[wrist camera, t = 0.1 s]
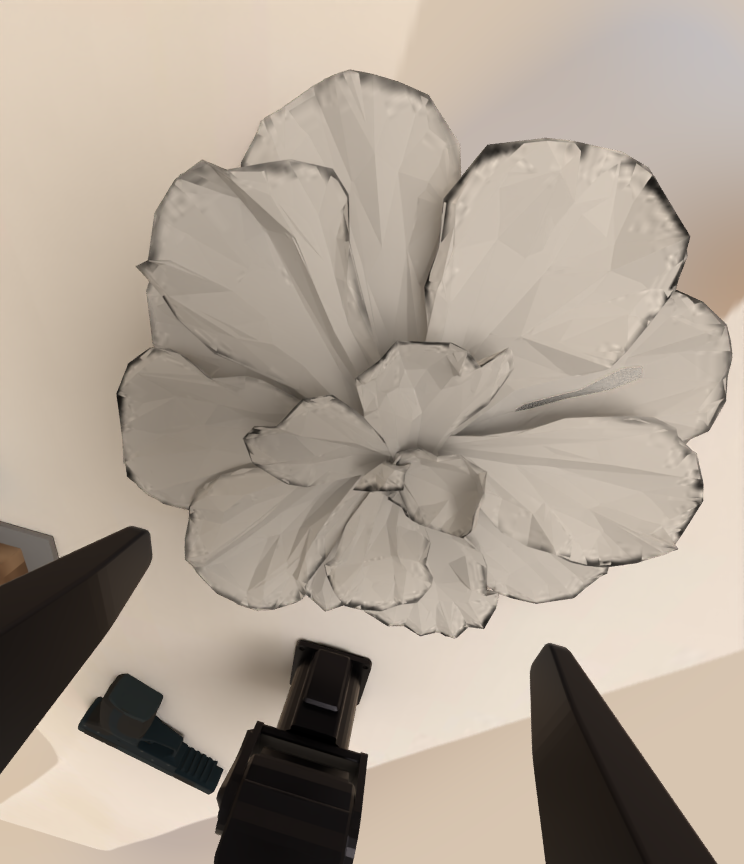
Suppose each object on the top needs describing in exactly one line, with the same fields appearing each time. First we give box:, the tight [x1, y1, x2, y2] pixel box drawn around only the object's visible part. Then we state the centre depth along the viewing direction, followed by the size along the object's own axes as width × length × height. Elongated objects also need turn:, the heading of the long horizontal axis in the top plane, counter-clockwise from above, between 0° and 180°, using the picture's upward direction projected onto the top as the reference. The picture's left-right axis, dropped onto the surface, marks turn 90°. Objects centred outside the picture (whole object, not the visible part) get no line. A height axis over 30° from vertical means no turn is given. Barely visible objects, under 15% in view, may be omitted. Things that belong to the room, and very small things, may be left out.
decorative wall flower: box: [117, 70, 732, 639], centre depth 21 cm, size 30×7×30 cm
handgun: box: [78, 674, 223, 794], centre depth 45 cm, size 3×18×12 cm
